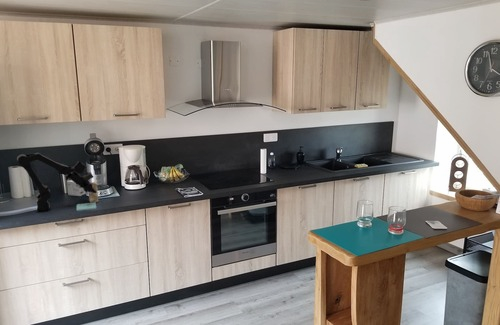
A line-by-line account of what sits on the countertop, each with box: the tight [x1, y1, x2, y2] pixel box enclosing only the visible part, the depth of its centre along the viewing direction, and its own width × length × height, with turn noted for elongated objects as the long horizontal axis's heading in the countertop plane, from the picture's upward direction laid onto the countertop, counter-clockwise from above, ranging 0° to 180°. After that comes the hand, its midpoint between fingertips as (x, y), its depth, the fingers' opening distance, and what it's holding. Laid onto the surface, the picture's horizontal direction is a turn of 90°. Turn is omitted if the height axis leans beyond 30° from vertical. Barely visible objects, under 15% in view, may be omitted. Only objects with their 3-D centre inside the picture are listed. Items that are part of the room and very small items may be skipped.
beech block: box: [88, 181, 99, 203], centre depth 268 cm, size 5×5×13 cm
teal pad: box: [76, 202, 97, 212], centre depth 258 cm, size 12×12×1 cm
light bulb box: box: [66, 179, 87, 197], centre depth 285 cm, size 11×7×11 cm, turn 75°
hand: (95, 191), depth 269 cm, fingers closed on beech block, 5 cm apart
